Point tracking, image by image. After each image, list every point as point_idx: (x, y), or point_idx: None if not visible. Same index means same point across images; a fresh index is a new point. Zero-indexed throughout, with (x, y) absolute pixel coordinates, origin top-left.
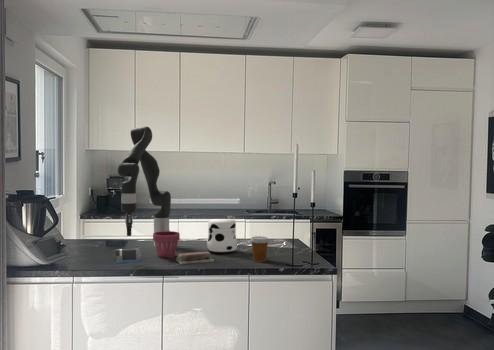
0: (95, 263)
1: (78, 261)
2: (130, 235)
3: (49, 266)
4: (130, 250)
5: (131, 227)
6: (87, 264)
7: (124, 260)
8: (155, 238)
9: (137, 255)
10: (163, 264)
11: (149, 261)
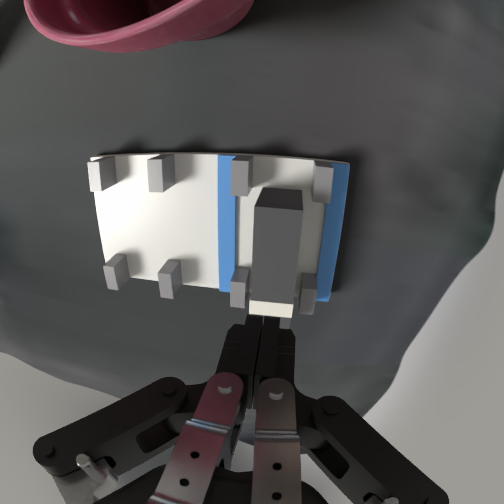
0: None
1: None
2: (278, 323)
3: None
4: (298, 250)
5: (344, 404)
6: None
7: (326, 262)
8: (204, 18)
9: (330, 193)
10: (429, 52)
11: (323, 105)
